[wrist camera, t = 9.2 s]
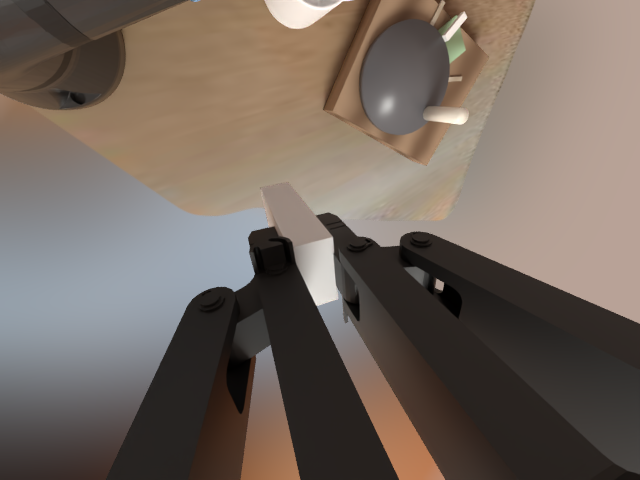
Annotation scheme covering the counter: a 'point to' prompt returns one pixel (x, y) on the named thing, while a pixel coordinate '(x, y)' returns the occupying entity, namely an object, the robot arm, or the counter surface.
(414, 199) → the counter surface
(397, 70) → the gray pegged oval disc
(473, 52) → the board
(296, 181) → the counter surface
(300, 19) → the mug
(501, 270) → the robot arm
